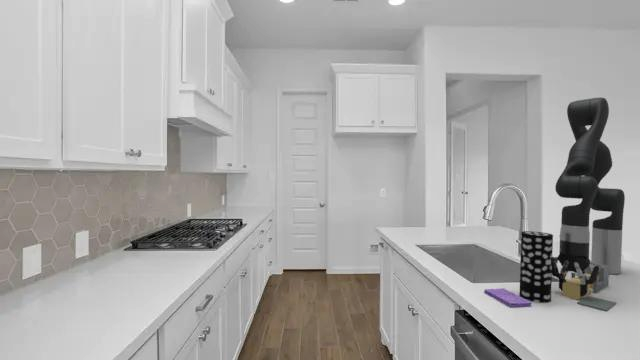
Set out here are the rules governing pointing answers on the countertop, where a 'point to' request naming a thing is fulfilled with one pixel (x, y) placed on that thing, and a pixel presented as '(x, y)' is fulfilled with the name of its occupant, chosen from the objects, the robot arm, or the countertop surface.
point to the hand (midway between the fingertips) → (572, 293)
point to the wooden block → (573, 289)
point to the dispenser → (601, 280)
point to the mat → (597, 303)
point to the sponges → (508, 298)
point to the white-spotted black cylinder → (536, 266)
